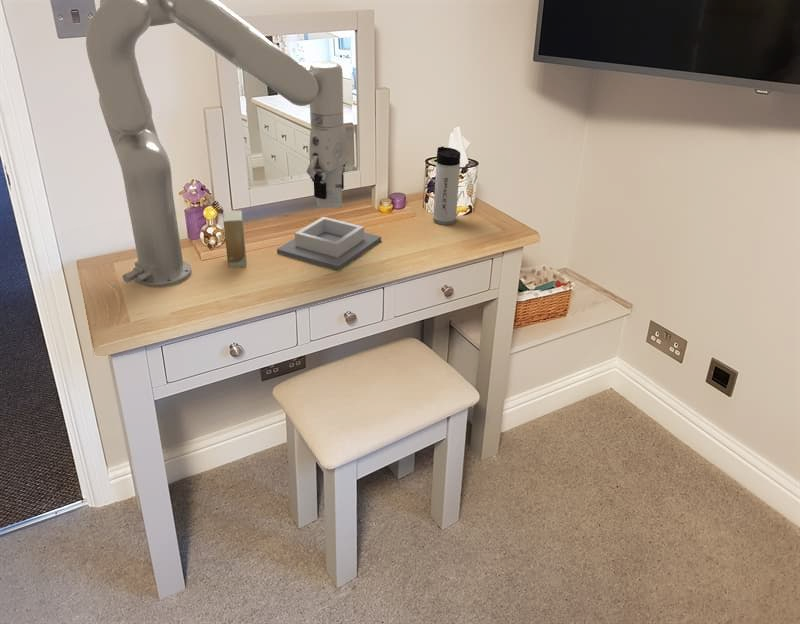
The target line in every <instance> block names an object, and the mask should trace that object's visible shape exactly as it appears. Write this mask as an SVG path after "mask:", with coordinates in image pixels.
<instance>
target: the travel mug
mask: <svg viewBox="0 0 800 624" xmlns="http://www.w3.org/2000/svg"><path fill="white" fill-rule="evenodd" d="M436 152H437V153H436V162H435V163H436V164H435V179H434V181H435V182H434V198H433V216H432V220H433V222H434V223H436V224H438V225H441V226H442V225H443V226H448V225H449V226H450V225H453V224H455V223H456V221H457V210H458V209H457V208H458V198H459V197H458V196H459V194H458V193H459V181H460V167H461V166H460V165H461V152H460V151H459V150H458V149H456V148H452V147H445V146H439V147H437V150H436Z"/></svg>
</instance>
